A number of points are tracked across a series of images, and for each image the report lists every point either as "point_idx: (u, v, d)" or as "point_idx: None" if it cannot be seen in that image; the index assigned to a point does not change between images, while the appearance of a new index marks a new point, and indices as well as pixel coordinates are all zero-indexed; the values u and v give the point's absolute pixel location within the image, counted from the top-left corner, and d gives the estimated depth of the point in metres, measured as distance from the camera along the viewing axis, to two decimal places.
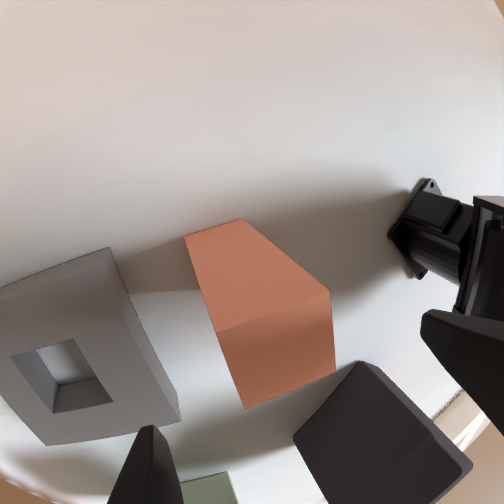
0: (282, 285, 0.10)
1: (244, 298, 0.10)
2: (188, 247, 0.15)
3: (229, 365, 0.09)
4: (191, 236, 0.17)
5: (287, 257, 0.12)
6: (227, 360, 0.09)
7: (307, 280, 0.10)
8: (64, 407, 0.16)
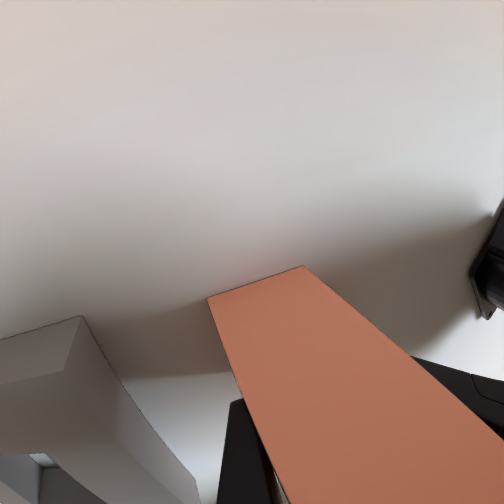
0: (462, 474, 0.03)
1: None
2: (221, 331, 0.08)
3: None
4: (220, 300, 0.10)
5: (440, 387, 0.05)
6: None
7: (499, 454, 0.03)
8: (51, 503, 0.09)
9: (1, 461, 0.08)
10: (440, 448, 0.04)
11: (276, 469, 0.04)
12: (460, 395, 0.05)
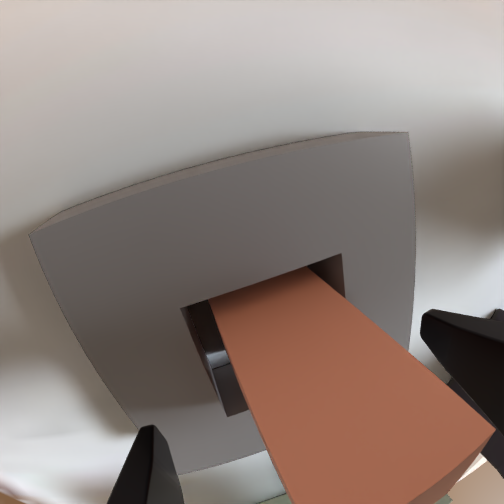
0: (418, 422, 0.04)
1: (356, 460, 0.04)
2: (213, 306, 0.10)
3: None
4: None
5: (400, 348, 0.06)
6: None
7: (454, 407, 0.04)
8: None
9: (195, 339, 0.10)
10: (397, 398, 0.05)
11: (254, 412, 0.06)
12: None
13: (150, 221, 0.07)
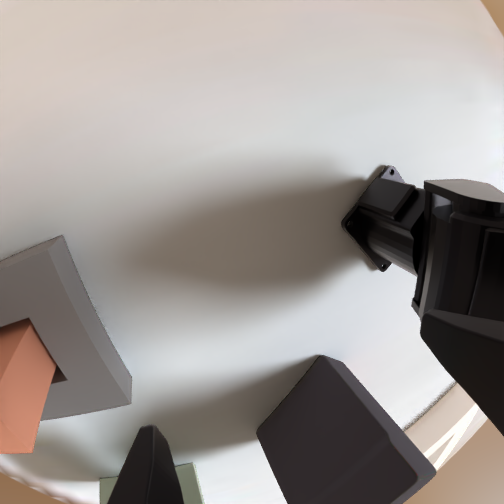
0: None
1: None
2: None
3: None
4: None
5: (6, 367, 0.11)
6: None
7: None
8: None
9: None
10: None
11: None
12: None
13: None
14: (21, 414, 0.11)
